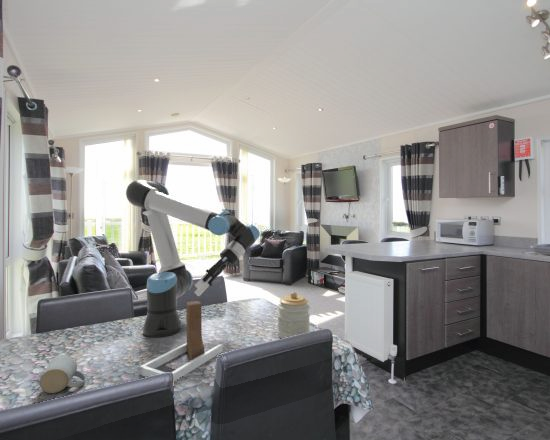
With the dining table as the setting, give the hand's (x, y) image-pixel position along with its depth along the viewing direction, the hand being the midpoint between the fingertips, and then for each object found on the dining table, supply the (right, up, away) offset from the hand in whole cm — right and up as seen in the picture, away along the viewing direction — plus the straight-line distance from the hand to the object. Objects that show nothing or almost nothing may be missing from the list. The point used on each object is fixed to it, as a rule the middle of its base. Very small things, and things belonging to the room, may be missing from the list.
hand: (196, 291), depth 130 cm
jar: (+39, -18, +2) cm, 43 cm away
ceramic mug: (-30, -20, -36) cm, 50 cm away
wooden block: (+3, -19, -16) cm, 25 cm away
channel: (+1, -19, -21) cm, 28 cm away
